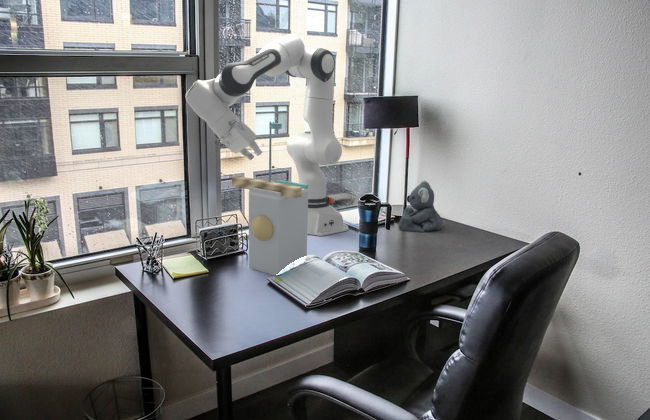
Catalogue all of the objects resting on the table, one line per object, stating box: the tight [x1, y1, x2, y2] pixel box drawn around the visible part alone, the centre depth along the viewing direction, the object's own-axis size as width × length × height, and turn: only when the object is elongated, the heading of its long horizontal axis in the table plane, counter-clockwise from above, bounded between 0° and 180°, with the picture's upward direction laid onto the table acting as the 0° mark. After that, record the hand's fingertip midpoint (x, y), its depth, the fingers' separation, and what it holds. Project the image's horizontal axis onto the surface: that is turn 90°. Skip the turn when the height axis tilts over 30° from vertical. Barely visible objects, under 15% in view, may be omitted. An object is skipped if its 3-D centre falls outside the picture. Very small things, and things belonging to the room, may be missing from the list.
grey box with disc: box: [248, 179, 308, 276], centre depth 178 cm, size 12×17×27 cm
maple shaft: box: [231, 175, 302, 198], centre depth 172 cm, size 26×3×3 cm, turn 57°
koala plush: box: [397, 180, 444, 233], centre depth 227 cm, size 17×18×20 cm
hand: (256, 156), depth 177 cm, fingers open, 8 cm apart
